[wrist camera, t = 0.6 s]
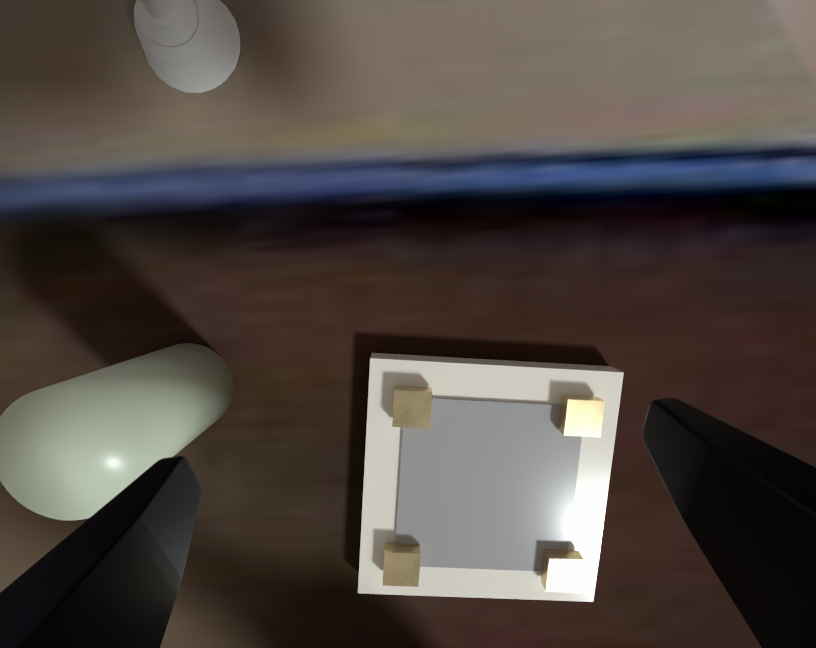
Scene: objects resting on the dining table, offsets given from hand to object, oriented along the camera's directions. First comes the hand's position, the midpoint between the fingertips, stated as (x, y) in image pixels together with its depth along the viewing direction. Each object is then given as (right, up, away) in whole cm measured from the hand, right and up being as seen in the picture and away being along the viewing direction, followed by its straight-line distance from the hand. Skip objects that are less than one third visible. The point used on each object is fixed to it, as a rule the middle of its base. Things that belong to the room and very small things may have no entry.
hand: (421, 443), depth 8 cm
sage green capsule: (-13, -1, +16) cm, 20 cm away
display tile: (+4, -7, +17) cm, 19 cm away
